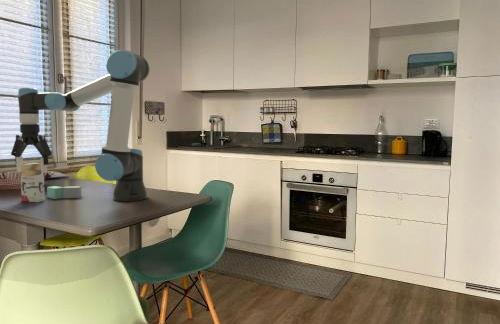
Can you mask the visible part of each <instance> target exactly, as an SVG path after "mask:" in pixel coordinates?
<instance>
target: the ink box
mask: <svg viewBox="0 0 500 324" xmlns="http://www.w3.org/2000/svg"><path fill="white" fill-rule="evenodd" d="M20 185H21V186H20V189H21V191H20V192H21V202H27V203H39V202H40V203H41V202H44V201H45V200H46V199H45V175H44V174H40V175H32V176H22V175H20Z"/></svg>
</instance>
